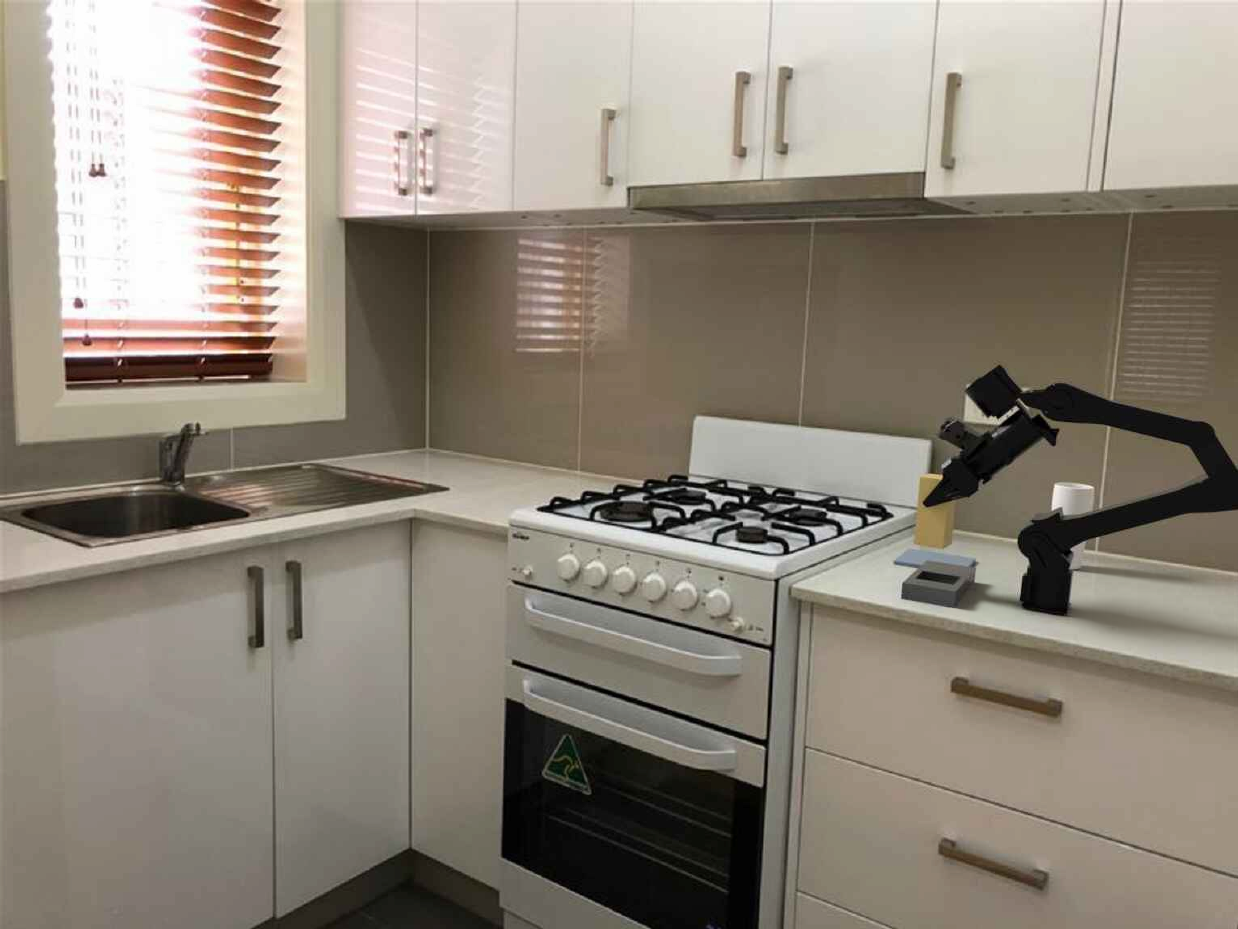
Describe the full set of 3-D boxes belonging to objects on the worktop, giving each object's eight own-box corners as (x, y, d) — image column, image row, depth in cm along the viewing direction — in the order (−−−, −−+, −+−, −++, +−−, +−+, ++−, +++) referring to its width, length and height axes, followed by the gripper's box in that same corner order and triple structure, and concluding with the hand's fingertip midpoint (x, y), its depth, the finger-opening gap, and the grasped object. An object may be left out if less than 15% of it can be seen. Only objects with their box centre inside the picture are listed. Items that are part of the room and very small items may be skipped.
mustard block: (951, 544, 160) (958, 477, 158) (942, 549, 156) (949, 480, 155) (923, 539, 163) (929, 473, 161) (913, 544, 159) (920, 476, 157)
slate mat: (975, 561, 181) (975, 558, 181) (963, 575, 171) (963, 571, 170) (908, 551, 187) (909, 548, 187) (893, 563, 176) (893, 560, 176)
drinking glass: (1043, 567, 179) (1052, 485, 177) (1046, 560, 185) (1055, 480, 182) (1084, 573, 176) (1094, 490, 173) (1086, 565, 182) (1096, 485, 179)
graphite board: (974, 582, 166) (976, 567, 166) (954, 607, 150) (955, 591, 150) (925, 574, 170) (927, 560, 169) (901, 598, 154) (902, 582, 154)
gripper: (982, 398, 162) (907, 457, 169) (962, 405, 146) (881, 470, 153) (1028, 451, 160) (950, 509, 167) (1013, 464, 144) (928, 527, 150)
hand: (927, 502), depth 159 cm, fingers closed on mustard block, 5 cm apart
